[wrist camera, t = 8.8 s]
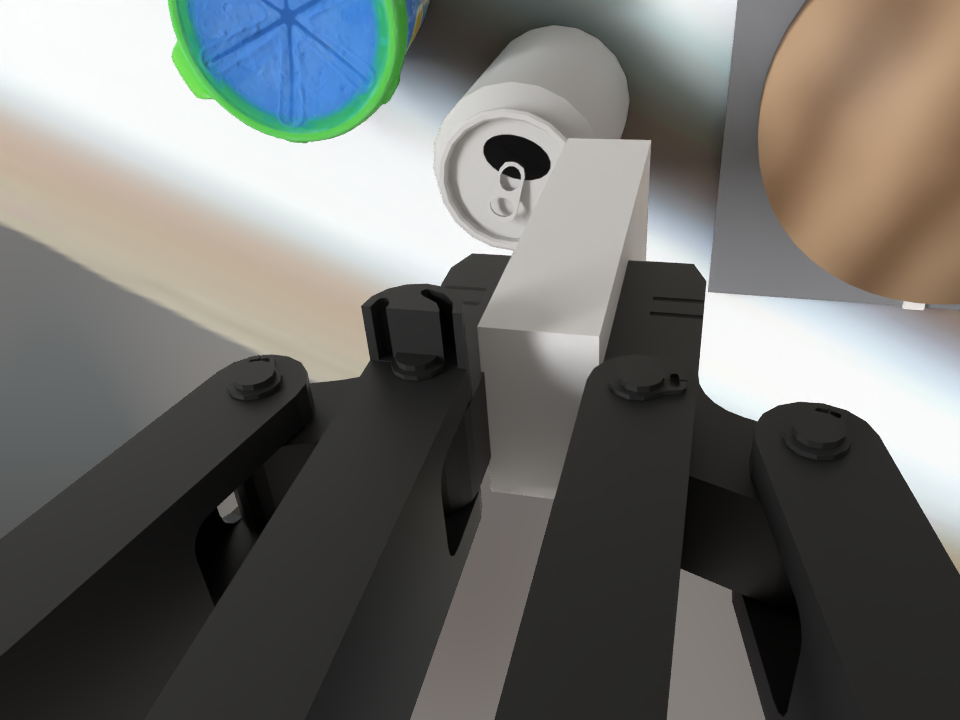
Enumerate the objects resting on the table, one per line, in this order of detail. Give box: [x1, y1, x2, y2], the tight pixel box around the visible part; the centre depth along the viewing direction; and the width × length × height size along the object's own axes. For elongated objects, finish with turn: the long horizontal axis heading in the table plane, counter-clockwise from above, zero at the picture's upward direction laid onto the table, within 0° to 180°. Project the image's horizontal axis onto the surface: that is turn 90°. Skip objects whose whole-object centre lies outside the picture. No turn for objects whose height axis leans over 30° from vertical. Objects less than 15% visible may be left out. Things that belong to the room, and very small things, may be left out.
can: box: [434, 25, 630, 251], centre depth 40 cm, size 8×8×12 cm
